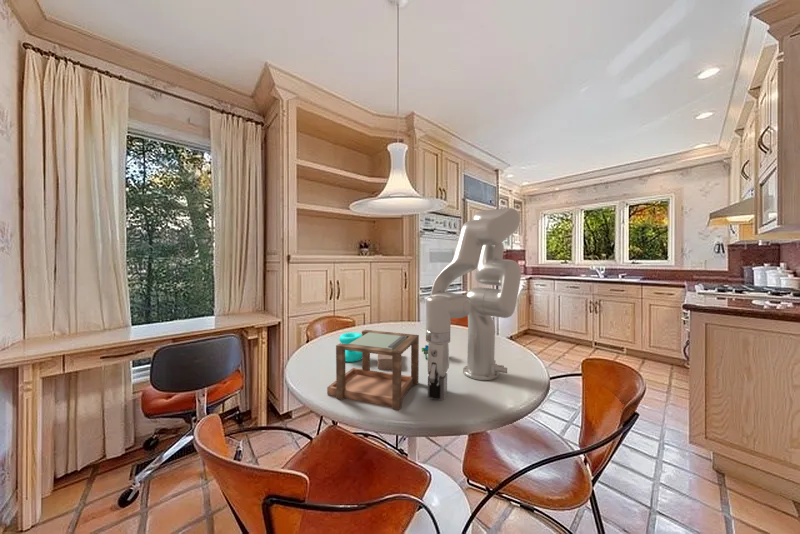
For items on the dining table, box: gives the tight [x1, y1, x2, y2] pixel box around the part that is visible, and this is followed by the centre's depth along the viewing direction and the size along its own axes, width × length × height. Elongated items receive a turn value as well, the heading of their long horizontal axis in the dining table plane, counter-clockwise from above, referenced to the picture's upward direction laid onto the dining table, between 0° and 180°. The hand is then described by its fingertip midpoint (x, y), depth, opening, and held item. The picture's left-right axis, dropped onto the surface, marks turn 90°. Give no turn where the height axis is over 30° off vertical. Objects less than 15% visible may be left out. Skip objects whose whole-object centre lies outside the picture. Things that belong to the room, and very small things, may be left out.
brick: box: [376, 354, 392, 370], centre depth 127 cm, size 16×8×5 cm, turn 1°
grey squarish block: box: [427, 372, 448, 401], centre depth 98 cm, size 5×5×6 cm
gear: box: [421, 343, 429, 360], centre depth 132 cm, size 11×6×10 cm
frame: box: [326, 329, 420, 411], centre depth 102 cm, size 24×20×16 cm
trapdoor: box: [349, 332, 407, 350], centre depth 101 cm, size 14×14×1 cm
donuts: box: [338, 332, 362, 363], centre depth 131 cm, size 10×10×10 cm
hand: (437, 392), depth 98 cm, fingers open, 6 cm apart
